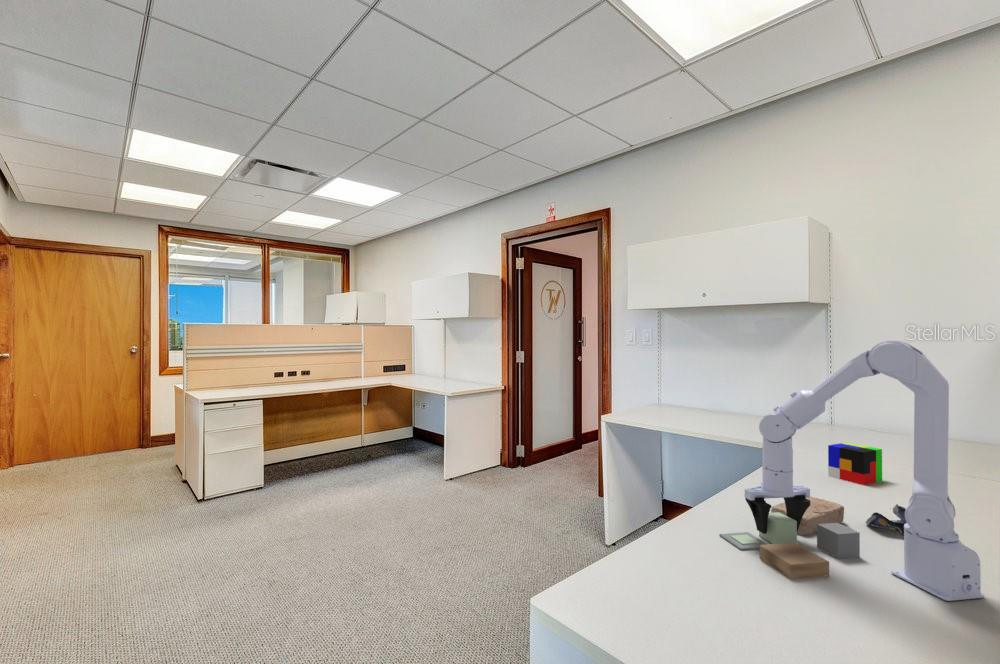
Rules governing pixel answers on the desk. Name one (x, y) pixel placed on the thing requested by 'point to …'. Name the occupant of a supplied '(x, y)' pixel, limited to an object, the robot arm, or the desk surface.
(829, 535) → the charcoal block
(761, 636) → the desk surface
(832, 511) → the brick
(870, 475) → the puzzle toy
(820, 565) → the light brown block
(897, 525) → the snack package
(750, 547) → the plaque
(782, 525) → the sage block
